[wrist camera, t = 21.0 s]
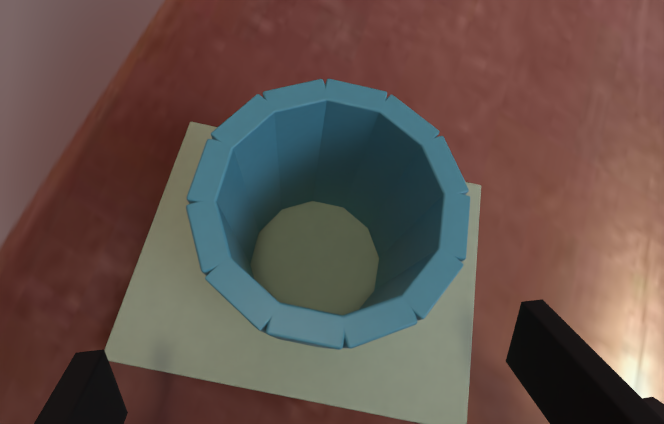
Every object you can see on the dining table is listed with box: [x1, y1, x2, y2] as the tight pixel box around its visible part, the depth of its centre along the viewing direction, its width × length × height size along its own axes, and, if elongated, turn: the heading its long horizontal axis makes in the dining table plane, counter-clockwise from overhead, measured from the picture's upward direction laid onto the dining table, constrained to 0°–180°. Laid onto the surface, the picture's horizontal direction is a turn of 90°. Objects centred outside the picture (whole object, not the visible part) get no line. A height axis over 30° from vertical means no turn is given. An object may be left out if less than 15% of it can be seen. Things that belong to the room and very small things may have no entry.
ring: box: [186, 79, 470, 350], centre depth 14 cm, size 8×8×8 cm
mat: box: [105, 122, 481, 424], centre depth 19 cm, size 16×12×1 cm
